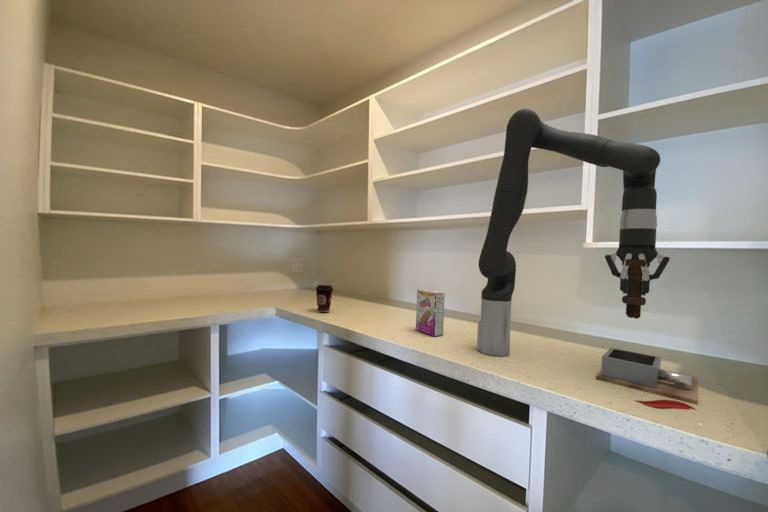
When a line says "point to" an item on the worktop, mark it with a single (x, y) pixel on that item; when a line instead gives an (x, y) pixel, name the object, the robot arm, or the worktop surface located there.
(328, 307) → the coffee cup
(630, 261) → the bolt
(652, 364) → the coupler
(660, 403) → the cayenne pepper
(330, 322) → the worktop surface
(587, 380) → the worktop surface
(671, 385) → the base
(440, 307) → the candy bar box
